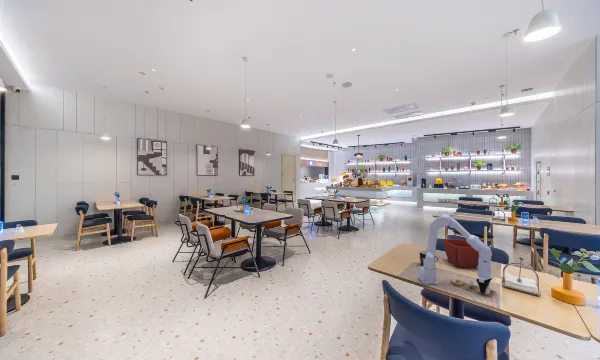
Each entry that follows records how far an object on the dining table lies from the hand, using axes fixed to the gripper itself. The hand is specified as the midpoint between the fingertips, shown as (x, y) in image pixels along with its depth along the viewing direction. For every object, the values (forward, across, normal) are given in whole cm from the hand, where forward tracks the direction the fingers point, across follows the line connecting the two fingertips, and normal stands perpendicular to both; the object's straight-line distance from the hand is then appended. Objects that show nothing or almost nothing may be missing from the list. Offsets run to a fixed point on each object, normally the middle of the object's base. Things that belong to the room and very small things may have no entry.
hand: (483, 291), depth 134 cm
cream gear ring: (0, 0, 0) cm, 0 cm away
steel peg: (0, 0, +6) cm, 6 cm away
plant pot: (+2, +40, +20) cm, 44 cm away
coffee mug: (+2, +18, +36) cm, 41 cm away
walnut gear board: (+2, 0, +6) cm, 6 cm away
